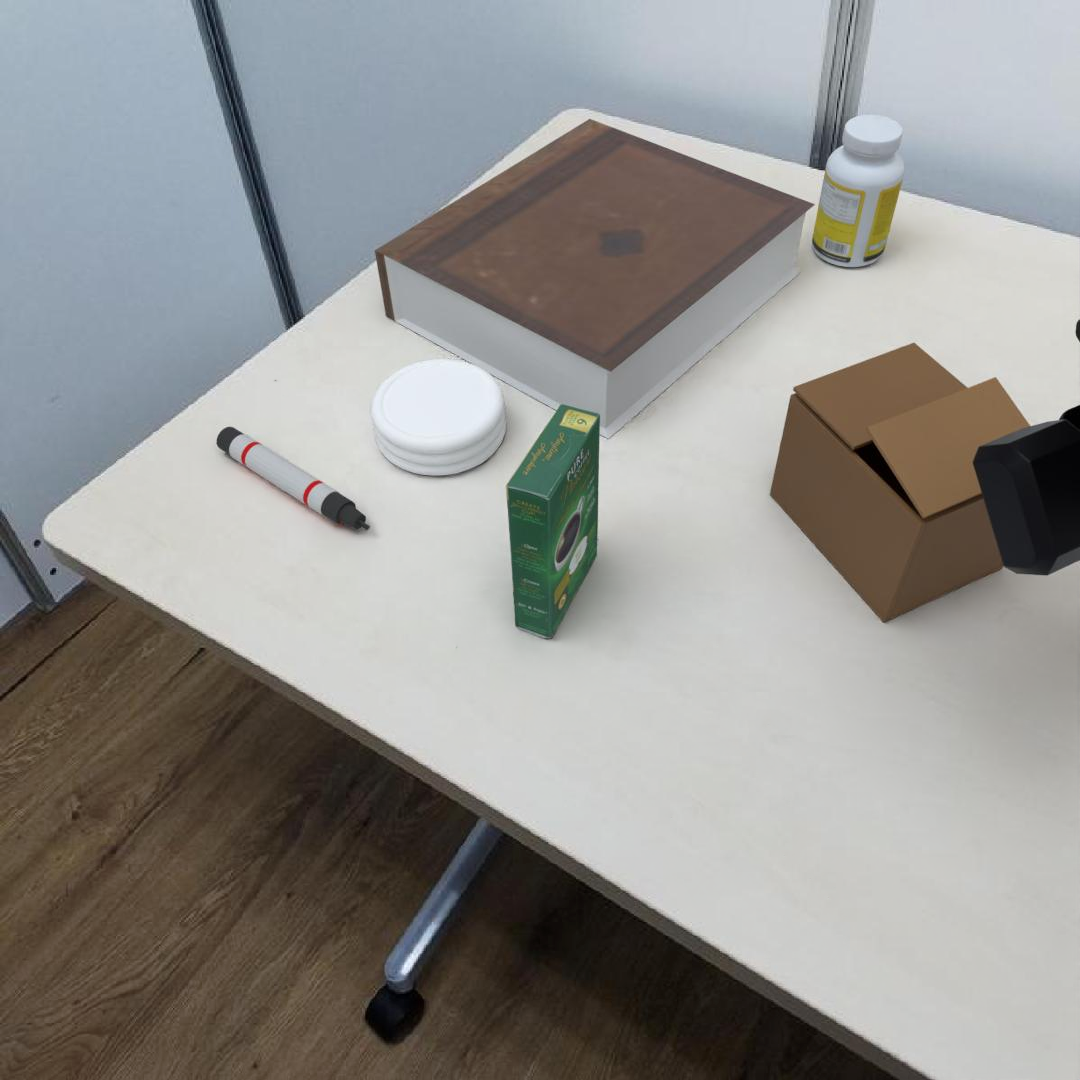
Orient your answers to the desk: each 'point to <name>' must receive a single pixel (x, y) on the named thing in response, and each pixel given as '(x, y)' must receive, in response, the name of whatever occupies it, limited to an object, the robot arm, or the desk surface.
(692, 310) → the book
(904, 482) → the flap
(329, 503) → the marker
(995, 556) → the carton
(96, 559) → the desk surface
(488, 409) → the white round container
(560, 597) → the coffee box
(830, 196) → the pill bottle
